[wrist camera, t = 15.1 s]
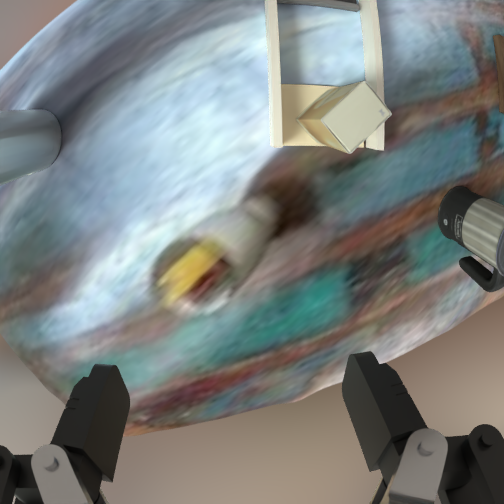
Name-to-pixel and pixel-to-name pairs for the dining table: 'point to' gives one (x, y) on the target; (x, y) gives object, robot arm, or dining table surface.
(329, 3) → the tray
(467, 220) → the milk frother
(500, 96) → the display frame
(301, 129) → the pad
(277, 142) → the channel
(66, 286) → the dining table surface
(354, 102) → the skincare box
